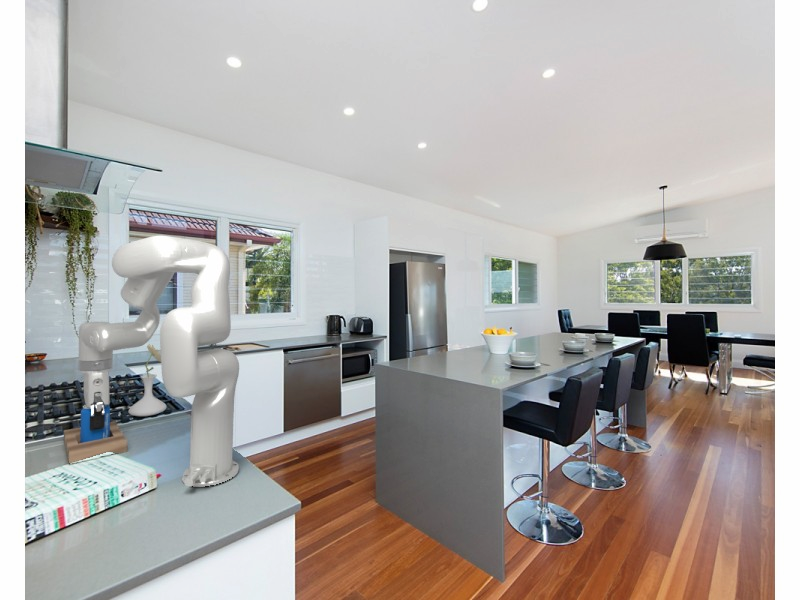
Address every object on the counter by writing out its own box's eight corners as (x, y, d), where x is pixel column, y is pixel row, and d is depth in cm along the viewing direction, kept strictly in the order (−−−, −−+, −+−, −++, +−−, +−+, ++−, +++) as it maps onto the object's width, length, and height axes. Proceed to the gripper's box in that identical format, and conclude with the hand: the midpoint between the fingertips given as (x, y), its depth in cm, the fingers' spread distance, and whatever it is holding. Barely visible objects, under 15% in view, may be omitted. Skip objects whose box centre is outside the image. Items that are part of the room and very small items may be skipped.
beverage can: (96, 451, 102) (97, 409, 102) (73, 450, 102) (74, 407, 102) (115, 442, 108) (115, 401, 108) (93, 440, 109) (94, 400, 108)
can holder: (126, 451, 103) (126, 441, 103) (69, 465, 94) (69, 453, 94) (114, 430, 117) (114, 421, 117) (63, 440, 108) (63, 430, 108)
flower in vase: (166, 416, 131) (167, 346, 130) (126, 421, 125) (128, 348, 124) (166, 405, 142) (168, 341, 141) (130, 409, 136) (131, 342, 135)
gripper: (117, 368, 101) (116, 430, 102) (107, 358, 113) (106, 413, 114) (81, 372, 96) (80, 437, 96) (75, 361, 108) (74, 419, 109)
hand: (94, 424), depth 105 cm, fingers open, 9 cm apart
